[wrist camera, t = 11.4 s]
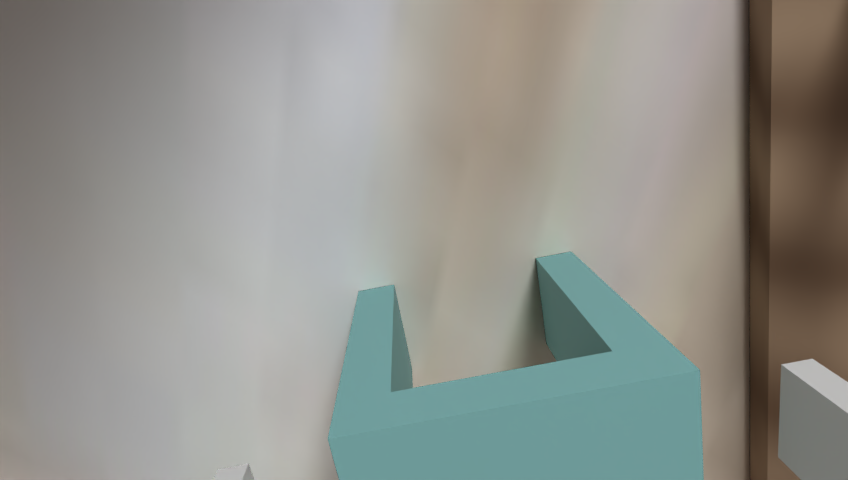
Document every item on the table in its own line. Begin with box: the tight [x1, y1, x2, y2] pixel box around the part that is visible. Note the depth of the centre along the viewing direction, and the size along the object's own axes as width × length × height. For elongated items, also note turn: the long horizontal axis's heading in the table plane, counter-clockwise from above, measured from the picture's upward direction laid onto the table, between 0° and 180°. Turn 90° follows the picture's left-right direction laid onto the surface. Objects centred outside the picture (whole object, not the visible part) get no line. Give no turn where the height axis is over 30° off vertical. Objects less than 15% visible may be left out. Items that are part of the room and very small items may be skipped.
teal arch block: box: [328, 252, 704, 480], centre depth 17 cm, size 4×9×10 cm, turn 100°
